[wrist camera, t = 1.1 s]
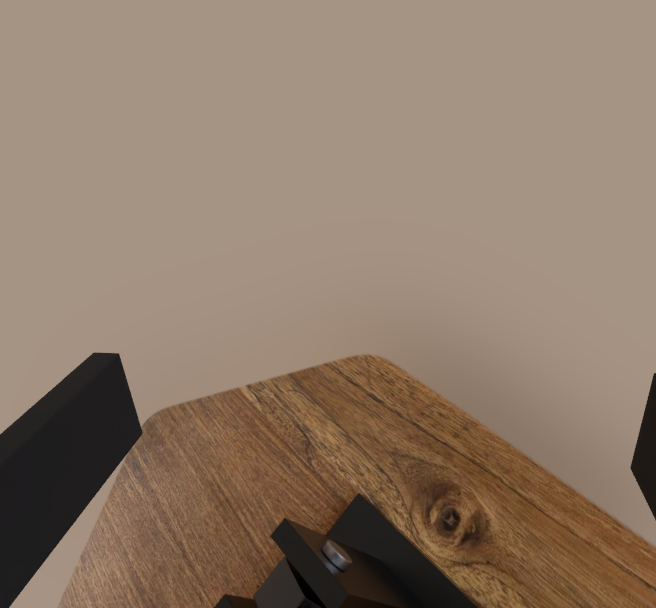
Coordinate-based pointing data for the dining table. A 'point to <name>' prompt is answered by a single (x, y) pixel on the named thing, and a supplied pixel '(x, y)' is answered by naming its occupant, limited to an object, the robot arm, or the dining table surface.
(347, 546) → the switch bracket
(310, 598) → the switch lever
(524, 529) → the dining table surface
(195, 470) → the dining table surface
